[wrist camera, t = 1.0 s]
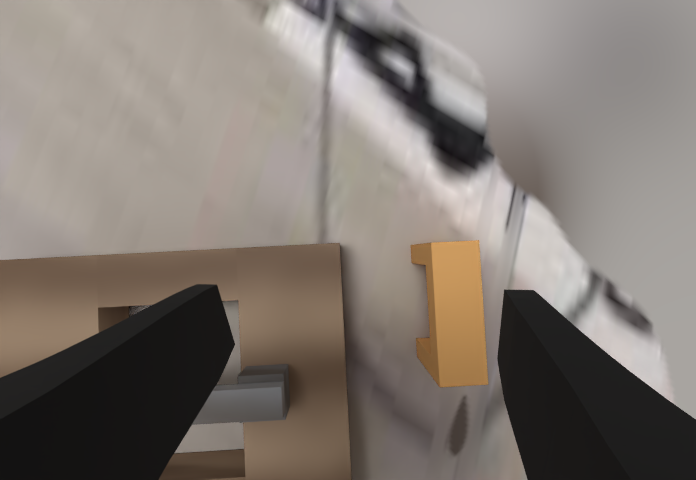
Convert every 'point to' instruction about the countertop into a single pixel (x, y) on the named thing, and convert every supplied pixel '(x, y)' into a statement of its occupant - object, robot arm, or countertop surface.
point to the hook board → (255, 344)
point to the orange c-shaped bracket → (453, 313)
